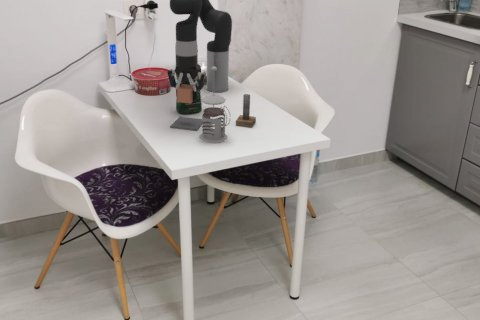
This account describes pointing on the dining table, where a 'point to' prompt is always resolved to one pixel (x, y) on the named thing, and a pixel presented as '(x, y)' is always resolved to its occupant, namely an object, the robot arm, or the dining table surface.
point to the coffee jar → (195, 105)
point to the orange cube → (185, 94)
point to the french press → (219, 132)
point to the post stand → (246, 114)
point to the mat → (187, 123)
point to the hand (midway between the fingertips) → (187, 99)
